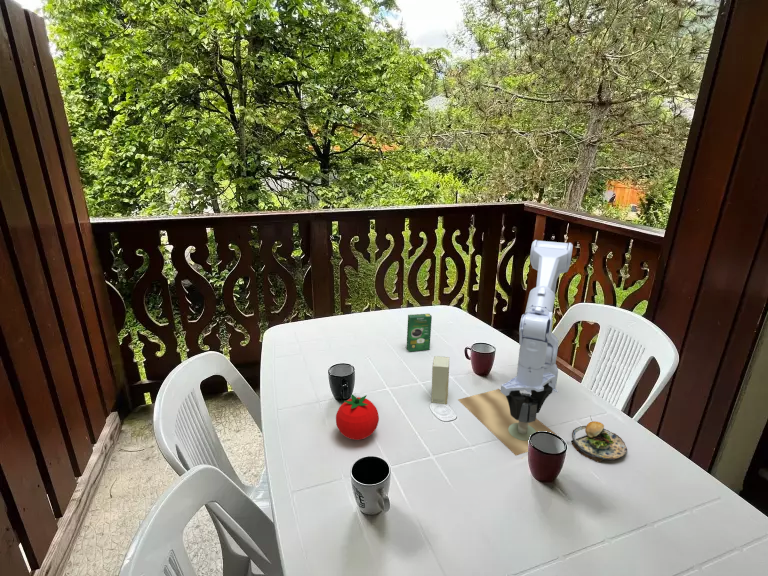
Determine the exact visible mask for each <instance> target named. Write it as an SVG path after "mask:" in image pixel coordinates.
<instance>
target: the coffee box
mask: <svg viewBox="0 0 768 576" xmlns="http://www.w3.org/2000/svg"><path fill="white" fill-rule="evenodd" d="M432 317H433V316H432V315H431V314H430V313H420V314H418V313H416V314H407V328H406V330H407V332H406V350H407V352H408V353H409V352H411V353H412V352H418V351H419V352H420V351H428V350H429V351H430V348H431V336H432V335H431V331H432Z"/></svg>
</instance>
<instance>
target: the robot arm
mask: <svg viewBox="0 0 768 576" xmlns="http://www.w3.org/2000/svg"><path fill="white" fill-rule="evenodd" d="M573 247H574V245H573V243H572V242H559V241H558V242H557V241H550V240H549V241H548V240H547V241H546V240H538V239H534V241H532V243H531V248H530V253H529V261H530V265H531V266H532V267H531V268H532V269H534V270H536V271H537V273H536V274H537V277H536V283H535V284H536V286H535V287H533V288H532V289H530V291H529V294H528V298H527V303H526V307H525V312H524V313H523V314H522V315H521V318H520V322H519V328H518V330H519V332H518V333H519V341H518V342H519V344H518V345H519V350H518V351H519V352H518V362H517V368H516V369H517V370H516V376H514V377H513V378H511V379H509V380H508V381H506V382H505V383H502V384H500V390H501V391H500V392H501V393H503V394H504V395H505V396H506V398H507V400H508V403H509V408H510V414H511V416H512V417H514V418H515V419H518V418H519V416H520V411H521V407H522V404H523V402H524V400H525V399H526V398H524V397H523V396H522V395H521V394H522V392H521V391H525V392H528V393H529V394H530V395H533V396H534V397H536V398H537V399H538V403H537V412H536V414H539V413H540V411H541V409H542V407H543V405H544V404H545V401H546V400H547V398H548V397H549V396H550V395H551V394H552V393H553V391H554V392H555V393H558V390H557V389H556V386H557V381H558V380H557V379H558V374H559V371H558V370H559V369H558V365H557V364H556V362H557V355H558V349H559V338H558V336H557V335H555V334H554V332H552V329H553V322H554V321H553V311H554V306H555V305H554V304H555V300H556V287H557V281H558V278H559V277H560V275H561V274H564V273H568V272H569V269H570V266H571V261H572V257H573V256H572V254H573Z"/></svg>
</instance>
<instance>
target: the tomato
mask: <svg viewBox="0 0 768 576" xmlns="http://www.w3.org/2000/svg"><path fill="white" fill-rule="evenodd" d="M350 395H351V398H349V399H347V400H343V403H342V404H341V405H340V406H339V407H338V410H337V411H336V414H335V423H336V427H337V428H338V430H339V432H340V434H341V435H343V436H344V437H345V438H348V439H350V440H355V441H357V440H364V439H367V438H368V437H370V436H371V435H372V434H374V432H375V431H376V429H377V428H378V424H379V421H380V415H379V411H378V409H377V407H376V405H375V404H374V403H373V402H372V401H371V400H369V399H368V398H366V397H367V394H366V395H363V396H362V397H356V396H355V395H354V394H352V393H351V394H350Z"/></svg>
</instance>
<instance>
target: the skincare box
mask: <svg viewBox="0 0 768 576" xmlns="http://www.w3.org/2000/svg"><path fill="white" fill-rule="evenodd" d="M432 361H433V362H432V371H431V372H432V373H431V374H432V375H431V403H433V404H441V405H447V404H448V399H449V382H450V381H449V379H450V378H449V377H450V374H449V373H450V357H448V356H439V355H434V356H433V360H432Z"/></svg>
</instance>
